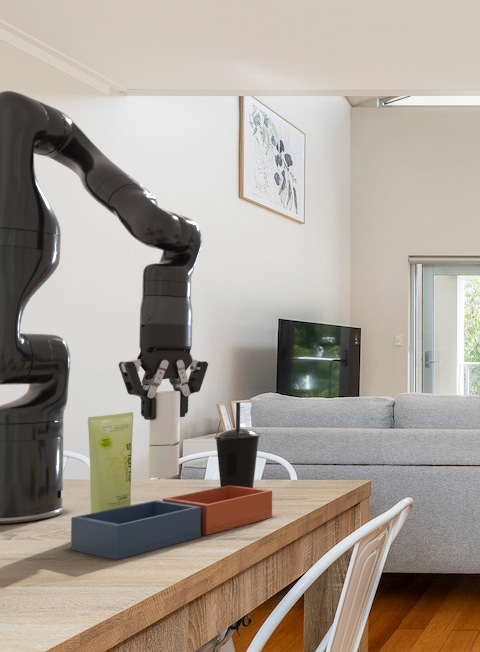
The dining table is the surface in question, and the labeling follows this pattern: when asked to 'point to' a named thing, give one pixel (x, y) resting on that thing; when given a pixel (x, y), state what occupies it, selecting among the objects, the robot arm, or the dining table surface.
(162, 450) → the tube
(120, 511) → the blue bin
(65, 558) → the dining table surface
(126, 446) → the tube
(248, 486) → the drinking cup
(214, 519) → the terracotta bin
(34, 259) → the robot arm
